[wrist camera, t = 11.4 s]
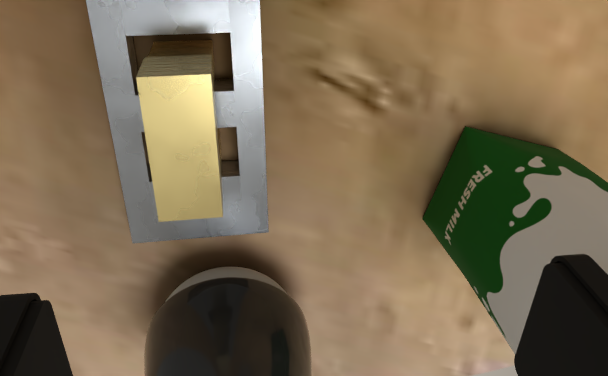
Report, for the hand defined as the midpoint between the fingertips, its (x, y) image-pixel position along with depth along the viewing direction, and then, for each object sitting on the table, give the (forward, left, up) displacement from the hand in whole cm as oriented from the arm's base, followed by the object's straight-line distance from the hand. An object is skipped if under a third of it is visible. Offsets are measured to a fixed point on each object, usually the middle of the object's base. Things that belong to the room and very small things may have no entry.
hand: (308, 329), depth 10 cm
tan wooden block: (+3, -3, -21) cm, 22 cm away
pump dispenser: (+18, -2, -21) cm, 28 cm away
